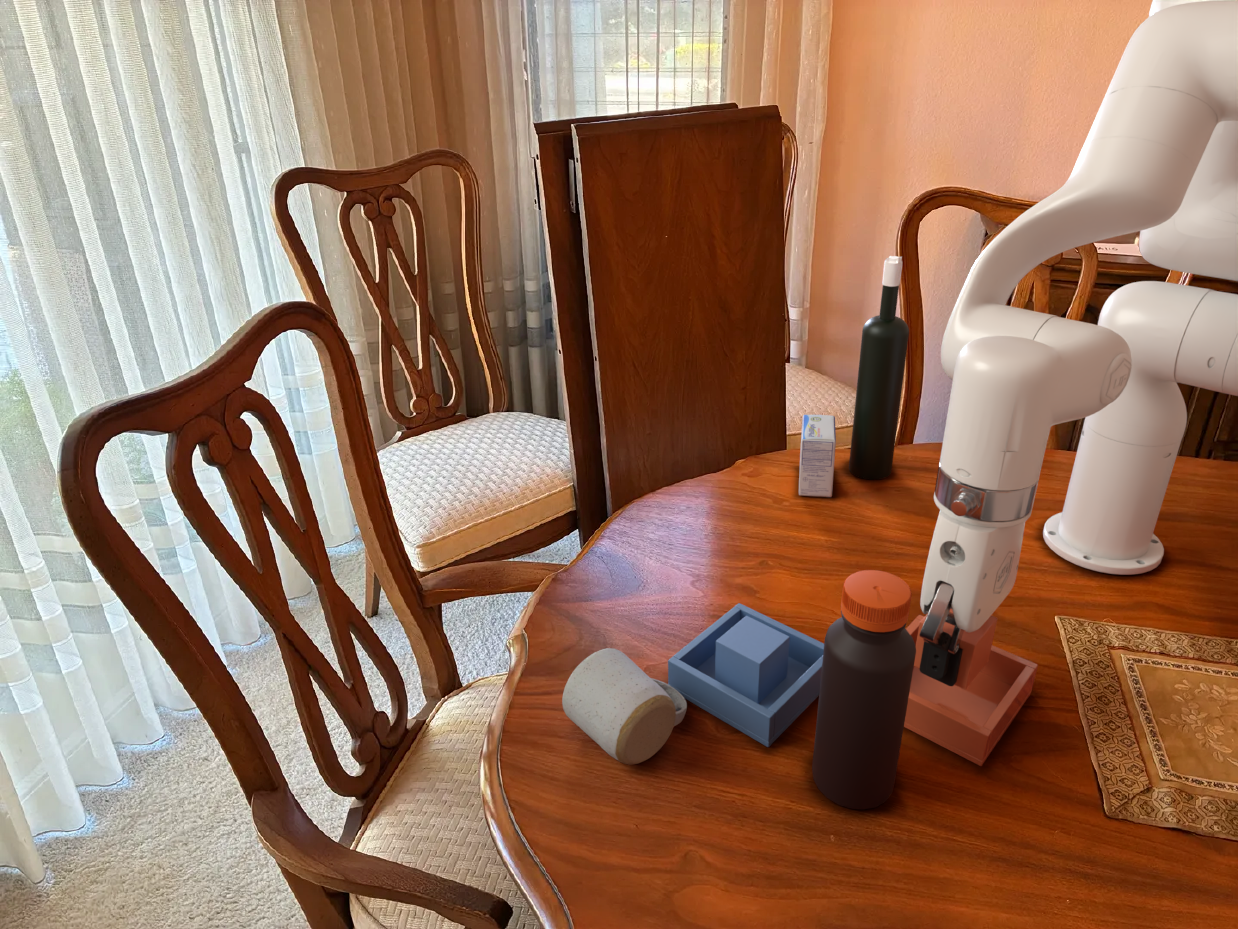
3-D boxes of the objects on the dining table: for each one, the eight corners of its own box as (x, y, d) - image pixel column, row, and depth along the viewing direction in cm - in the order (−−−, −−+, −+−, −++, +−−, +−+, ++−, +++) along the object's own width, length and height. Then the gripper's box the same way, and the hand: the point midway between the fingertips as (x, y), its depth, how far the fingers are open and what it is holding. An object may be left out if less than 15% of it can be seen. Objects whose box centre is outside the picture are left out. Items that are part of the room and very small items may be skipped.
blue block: (744, 654, 86) (746, 615, 84) (787, 676, 83) (790, 636, 81) (714, 681, 83) (715, 640, 81) (757, 705, 80) (759, 664, 78)
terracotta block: (936, 638, 82) (943, 596, 79) (988, 661, 79) (998, 617, 76) (912, 665, 78) (919, 622, 76) (965, 690, 75) (975, 645, 73)
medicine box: (831, 498, 114) (837, 440, 110) (797, 496, 115) (801, 438, 110) (831, 470, 120) (835, 414, 116) (798, 468, 121) (802, 413, 117)
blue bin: (737, 629, 91) (738, 602, 89) (835, 679, 84) (838, 650, 82) (667, 688, 83) (667, 660, 82) (768, 747, 76) (770, 718, 75)
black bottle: (910, 797, 71) (945, 603, 62) (840, 823, 69) (865, 626, 60) (862, 739, 77) (887, 554, 67) (796, 762, 75) (812, 574, 65)
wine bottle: (899, 476, 118) (927, 260, 104) (860, 482, 117) (884, 265, 103) (878, 458, 123) (903, 249, 109) (841, 463, 122) (861, 254, 108)
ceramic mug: (620, 786, 73) (618, 719, 69) (562, 733, 79) (557, 668, 75) (707, 725, 79) (709, 661, 75) (647, 680, 85) (647, 618, 81)
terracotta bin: (914, 642, 88) (919, 614, 86) (1031, 693, 81) (1038, 664, 79) (858, 704, 81) (862, 674, 79) (981, 767, 74) (988, 736, 72)
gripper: (988, 549, 62) (951, 734, 71) (1068, 464, 73) (1027, 633, 82) (892, 515, 67) (868, 692, 75) (981, 440, 78) (950, 602, 86)
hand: (951, 660), depth 78 cm, fingers closed on terracotta block, 5 cm apart
